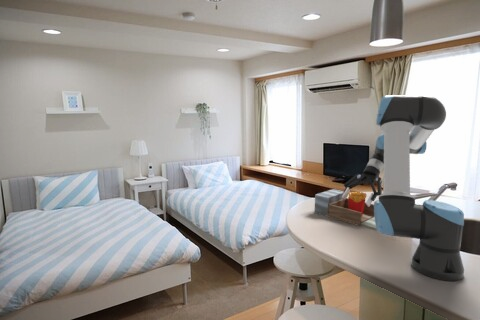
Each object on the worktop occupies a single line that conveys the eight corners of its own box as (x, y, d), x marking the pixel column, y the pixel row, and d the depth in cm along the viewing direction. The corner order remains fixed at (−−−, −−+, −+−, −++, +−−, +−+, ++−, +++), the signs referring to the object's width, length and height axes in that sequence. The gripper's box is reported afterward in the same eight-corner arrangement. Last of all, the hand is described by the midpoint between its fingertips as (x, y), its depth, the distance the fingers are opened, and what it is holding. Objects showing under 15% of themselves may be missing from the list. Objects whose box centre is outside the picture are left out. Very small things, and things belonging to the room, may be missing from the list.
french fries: (347, 215, 154) (349, 192, 152) (346, 213, 158) (348, 190, 156) (365, 217, 152) (367, 193, 150) (364, 214, 156) (365, 191, 154)
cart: (376, 230, 139) (378, 209, 137) (314, 212, 163) (315, 194, 162) (392, 221, 150) (394, 202, 149) (332, 205, 175) (333, 189, 173)
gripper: (399, 177, 152) (381, 212, 145) (354, 170, 172) (336, 200, 165) (394, 168, 148) (375, 203, 141) (349, 161, 168) (331, 192, 161)
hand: (354, 202), depth 153 cm, fingers open, 13 cm apart
